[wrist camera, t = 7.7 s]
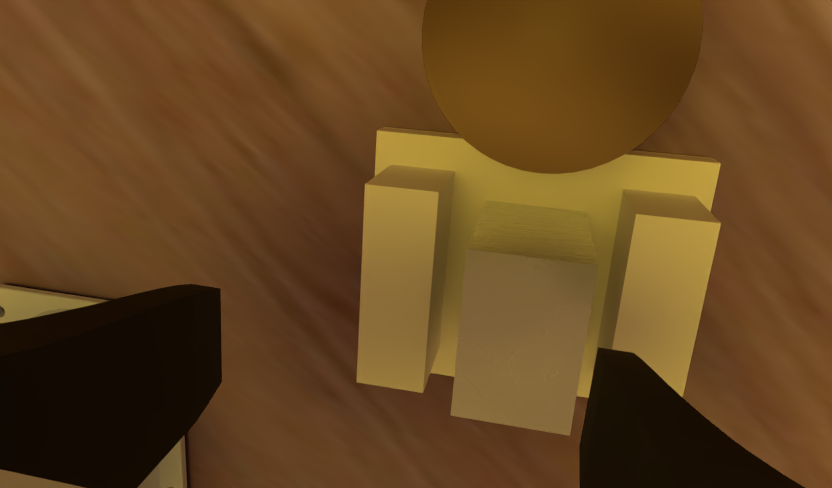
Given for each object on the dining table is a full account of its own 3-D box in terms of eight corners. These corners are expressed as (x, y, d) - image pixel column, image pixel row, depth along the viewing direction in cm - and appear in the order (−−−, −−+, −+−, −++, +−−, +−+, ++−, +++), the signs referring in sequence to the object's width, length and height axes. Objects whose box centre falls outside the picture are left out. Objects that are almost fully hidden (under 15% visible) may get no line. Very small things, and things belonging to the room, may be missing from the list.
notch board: (662, 394, 22) (686, 468, 18) (373, 349, 23) (339, 408, 19) (712, 157, 19) (752, 185, 15) (384, 126, 21) (348, 145, 17)
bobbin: (642, 151, 19) (673, 186, 15) (445, 132, 20) (413, 160, 16) (680, -68, 18) (730, -111, 13) (462, -77, 19) (431, -120, 14)
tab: (586, 211, 19) (598, 265, 15) (565, 346, 21) (569, 435, 16) (486, 200, 20) (466, 249, 15) (472, 333, 21) (450, 415, 16)
